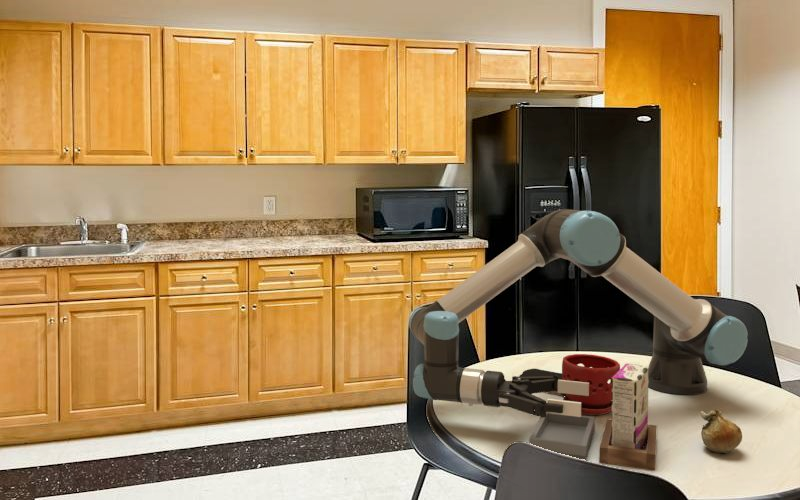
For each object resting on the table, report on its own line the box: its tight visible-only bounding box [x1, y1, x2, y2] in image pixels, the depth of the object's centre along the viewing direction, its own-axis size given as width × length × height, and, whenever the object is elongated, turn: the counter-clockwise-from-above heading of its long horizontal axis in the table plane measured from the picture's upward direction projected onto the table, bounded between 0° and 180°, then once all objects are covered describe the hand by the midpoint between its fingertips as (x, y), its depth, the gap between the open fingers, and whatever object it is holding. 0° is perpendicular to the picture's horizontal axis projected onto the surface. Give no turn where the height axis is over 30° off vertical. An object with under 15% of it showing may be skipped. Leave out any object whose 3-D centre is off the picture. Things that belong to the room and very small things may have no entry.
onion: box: [699, 409, 743, 454], centre depth 134 cm, size 8×8×8 cm
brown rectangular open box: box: [598, 418, 658, 471], centre depth 135 cm, size 10×16×4 cm, turn 158°
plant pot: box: [561, 353, 621, 416], centre depth 159 cm, size 13×13×12 cm
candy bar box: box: [611, 363, 649, 450], centre depth 134 cm, size 11×5×16 cm, turn 148°
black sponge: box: [518, 368, 567, 397], centre depth 175 cm, size 16×8×4 cm, turn 51°
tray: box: [528, 412, 596, 461], centre depth 140 cm, size 11×17×3 cm, turn 158°
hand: (585, 399), depth 138 cm, fingers open, 13 cm apart
